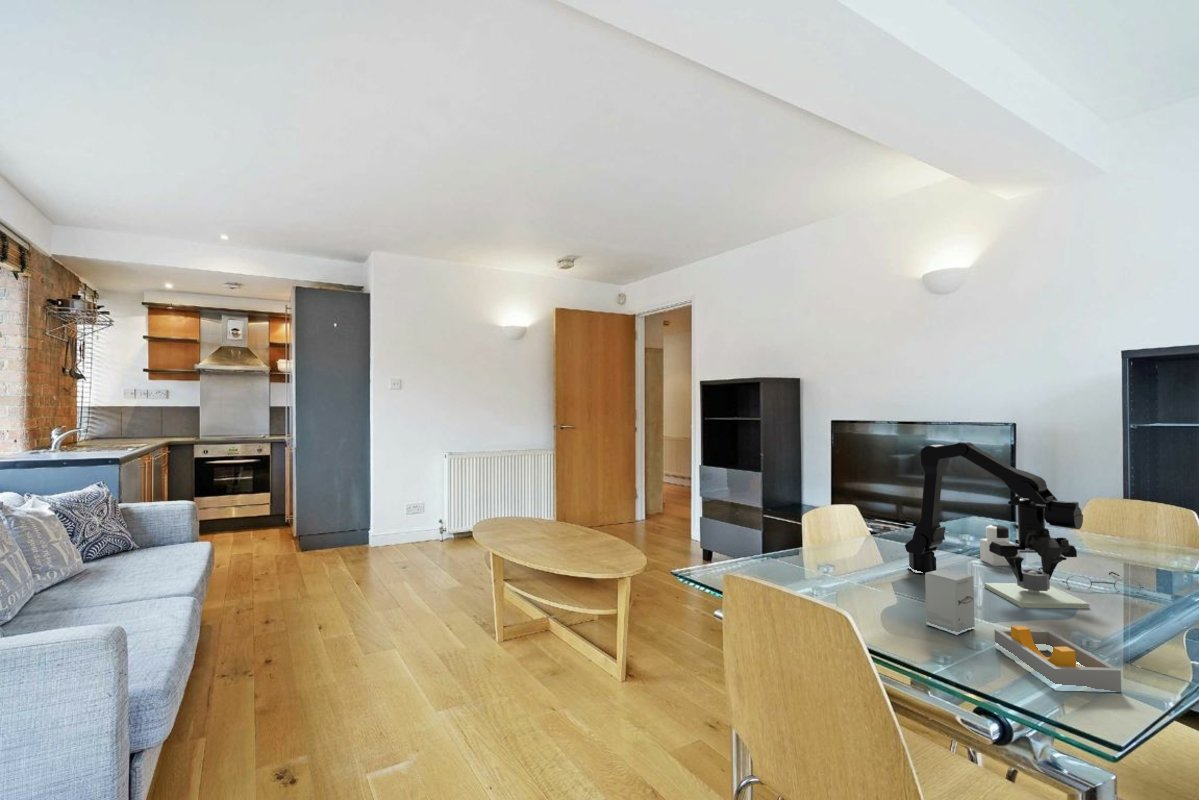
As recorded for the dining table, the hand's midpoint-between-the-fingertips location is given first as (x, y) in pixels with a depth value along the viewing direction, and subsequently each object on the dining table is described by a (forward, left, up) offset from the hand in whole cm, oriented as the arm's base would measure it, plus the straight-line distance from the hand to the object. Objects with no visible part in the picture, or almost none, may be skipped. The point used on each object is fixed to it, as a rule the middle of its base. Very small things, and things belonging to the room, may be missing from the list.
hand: (1033, 581), depth 148 cm
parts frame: (-23, -42, -4) cm, 48 cm away
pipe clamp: (-24, -43, -5) cm, 49 cm away
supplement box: (-32, -22, -4) cm, 39 cm away
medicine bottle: (+10, +33, -4) cm, 35 cm away
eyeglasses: (+24, +15, -5) cm, 29 cm away
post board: (0, 0, -4) cm, 4 cm away
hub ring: (0, 0, -2) cm, 2 cm away
